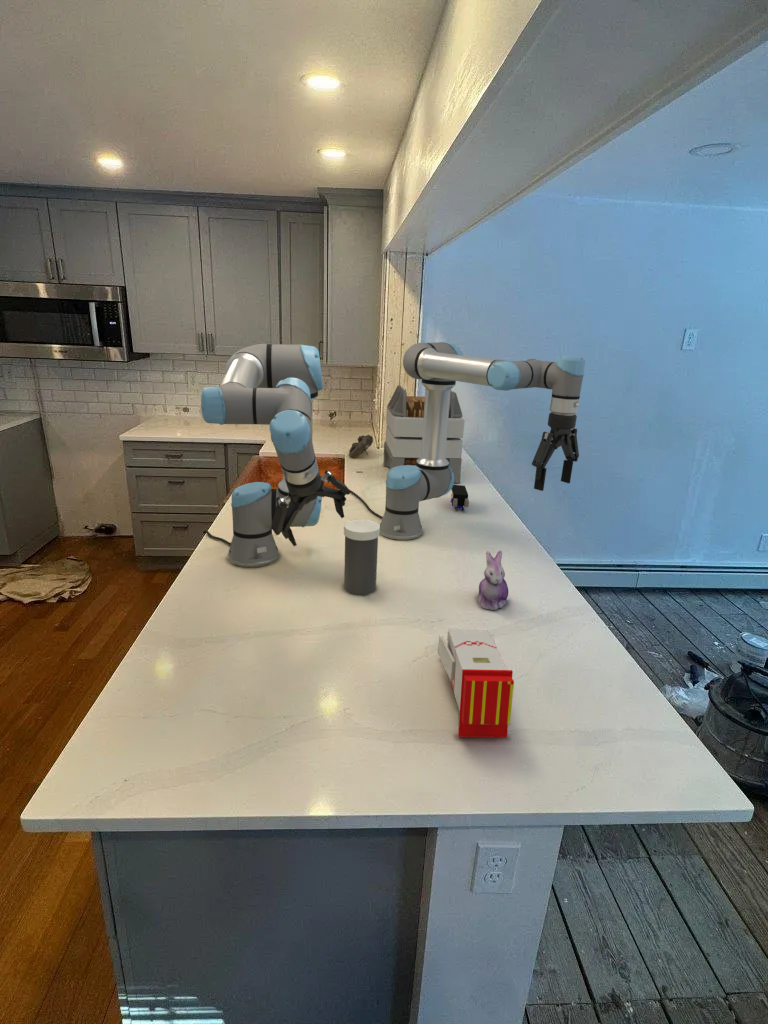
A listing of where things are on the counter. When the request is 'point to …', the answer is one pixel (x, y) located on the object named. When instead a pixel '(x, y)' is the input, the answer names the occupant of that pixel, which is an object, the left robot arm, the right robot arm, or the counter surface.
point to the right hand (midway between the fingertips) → (552, 485)
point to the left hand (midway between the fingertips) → (316, 527)
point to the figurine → (493, 584)
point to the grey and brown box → (419, 431)
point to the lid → (361, 529)
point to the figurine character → (459, 497)
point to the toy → (478, 682)
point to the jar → (360, 566)
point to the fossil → (360, 446)
